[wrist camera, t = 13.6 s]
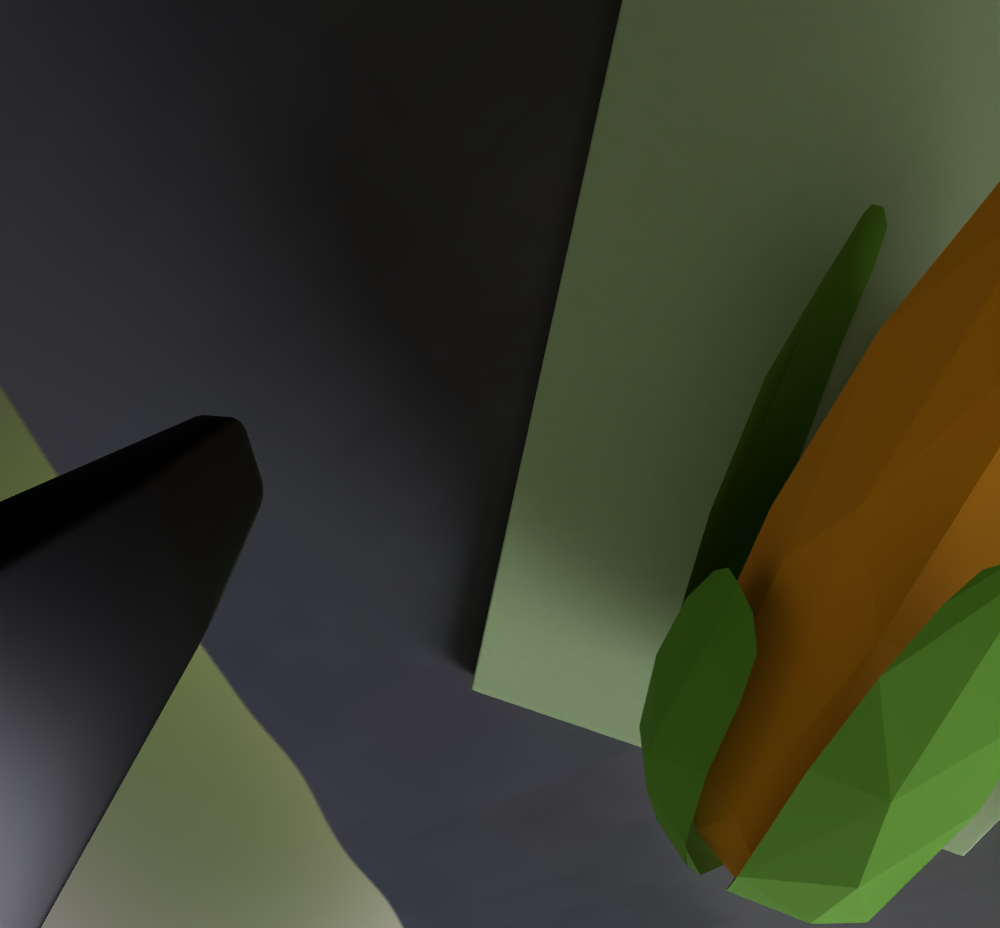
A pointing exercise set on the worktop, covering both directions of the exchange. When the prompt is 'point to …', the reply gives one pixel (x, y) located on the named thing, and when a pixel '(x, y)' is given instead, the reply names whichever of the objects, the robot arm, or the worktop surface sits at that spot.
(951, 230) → the mat
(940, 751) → the corn
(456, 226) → the worktop surface
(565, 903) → the worktop surface
